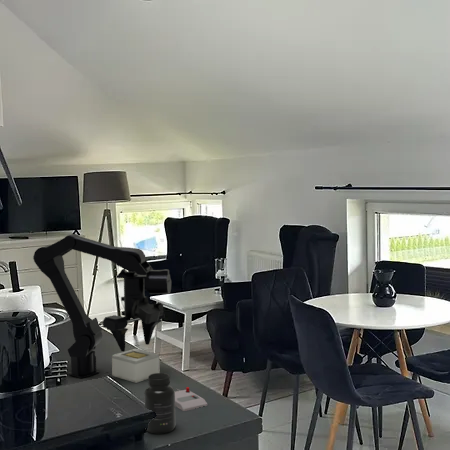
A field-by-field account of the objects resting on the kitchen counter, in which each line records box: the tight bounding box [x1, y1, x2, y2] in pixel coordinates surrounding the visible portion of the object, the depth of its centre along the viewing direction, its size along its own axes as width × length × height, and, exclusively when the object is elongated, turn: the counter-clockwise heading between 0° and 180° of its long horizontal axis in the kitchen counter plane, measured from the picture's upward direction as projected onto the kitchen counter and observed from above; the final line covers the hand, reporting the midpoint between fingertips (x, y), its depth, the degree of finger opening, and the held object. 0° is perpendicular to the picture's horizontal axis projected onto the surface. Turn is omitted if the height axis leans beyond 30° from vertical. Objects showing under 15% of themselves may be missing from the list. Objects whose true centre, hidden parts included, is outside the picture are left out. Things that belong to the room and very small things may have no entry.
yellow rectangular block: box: [126, 352, 146, 359], centre depth 176 cm, size 3×5×6 cm, turn 53°
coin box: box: [111, 348, 161, 384], centre depth 176 cm, size 9×10×6 cm
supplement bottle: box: [143, 372, 176, 435], centre depth 138 cm, size 7×7×12 cm
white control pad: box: [174, 386, 208, 412], centre depth 155 cm, size 7×16×3 cm, turn 32°
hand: (135, 347), depth 176 cm, fingers open, 9 cm apart
